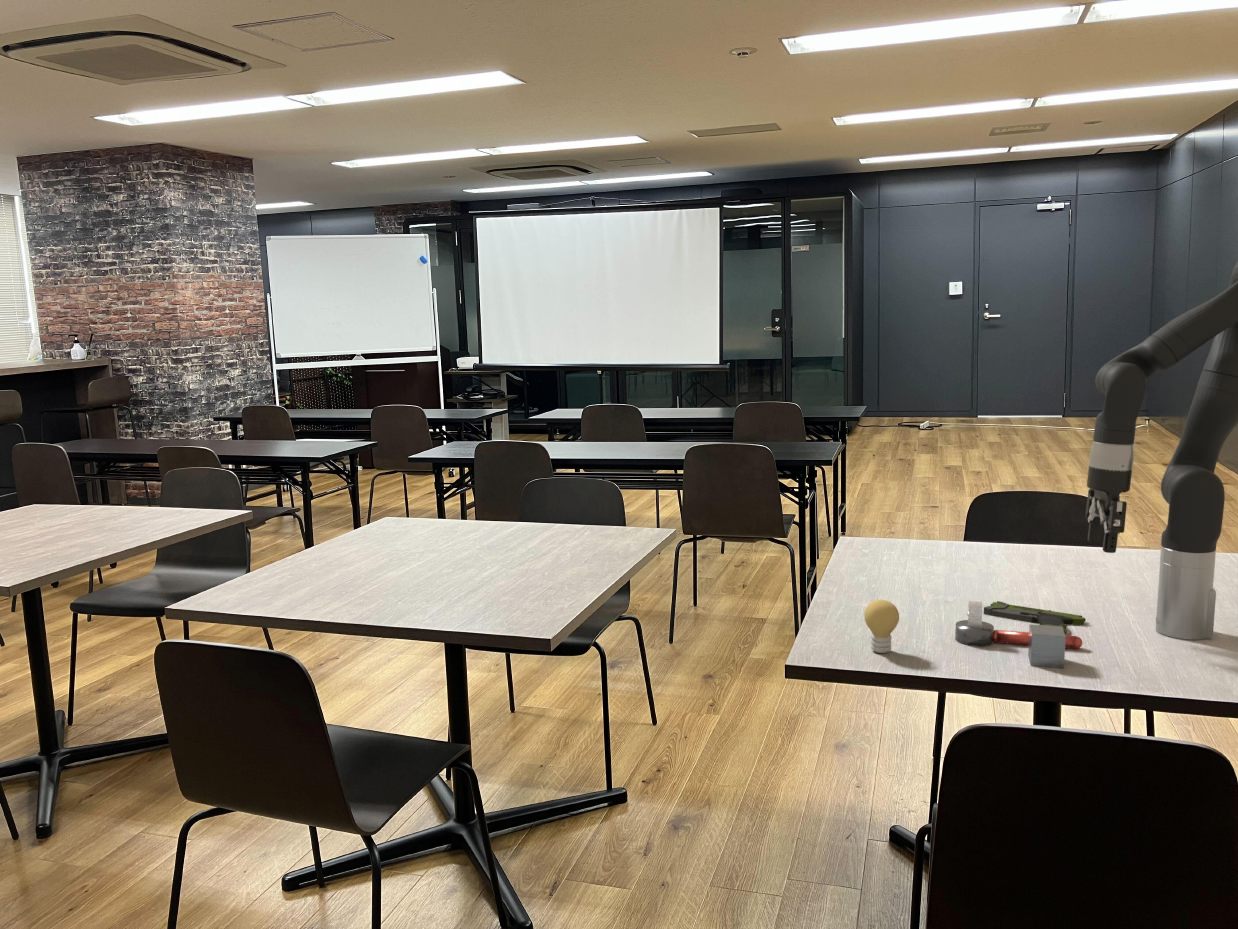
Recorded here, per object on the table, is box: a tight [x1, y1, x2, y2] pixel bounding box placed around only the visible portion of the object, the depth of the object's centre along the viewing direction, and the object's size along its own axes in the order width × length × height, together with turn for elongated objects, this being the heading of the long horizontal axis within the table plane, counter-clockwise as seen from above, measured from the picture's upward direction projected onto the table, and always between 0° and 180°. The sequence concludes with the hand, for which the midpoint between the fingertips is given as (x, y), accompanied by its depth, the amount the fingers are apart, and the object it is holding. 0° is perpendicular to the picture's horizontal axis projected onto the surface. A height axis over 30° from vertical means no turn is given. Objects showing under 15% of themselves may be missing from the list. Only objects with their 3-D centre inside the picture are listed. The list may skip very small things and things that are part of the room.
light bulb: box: [863, 599, 900, 654], centre depth 180 cm, size 6×6×10 cm
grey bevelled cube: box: [1027, 624, 1066, 669], centre depth 173 cm, size 6×6×6 cm
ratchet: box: [954, 600, 1084, 650], centre depth 183 cm, size 23×7×8 cm, turn 71°
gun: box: [983, 600, 1086, 635], centre depth 196 cm, size 2×19×15 cm
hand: (1101, 547), depth 187 cm, fingers open, 8 cm apart
